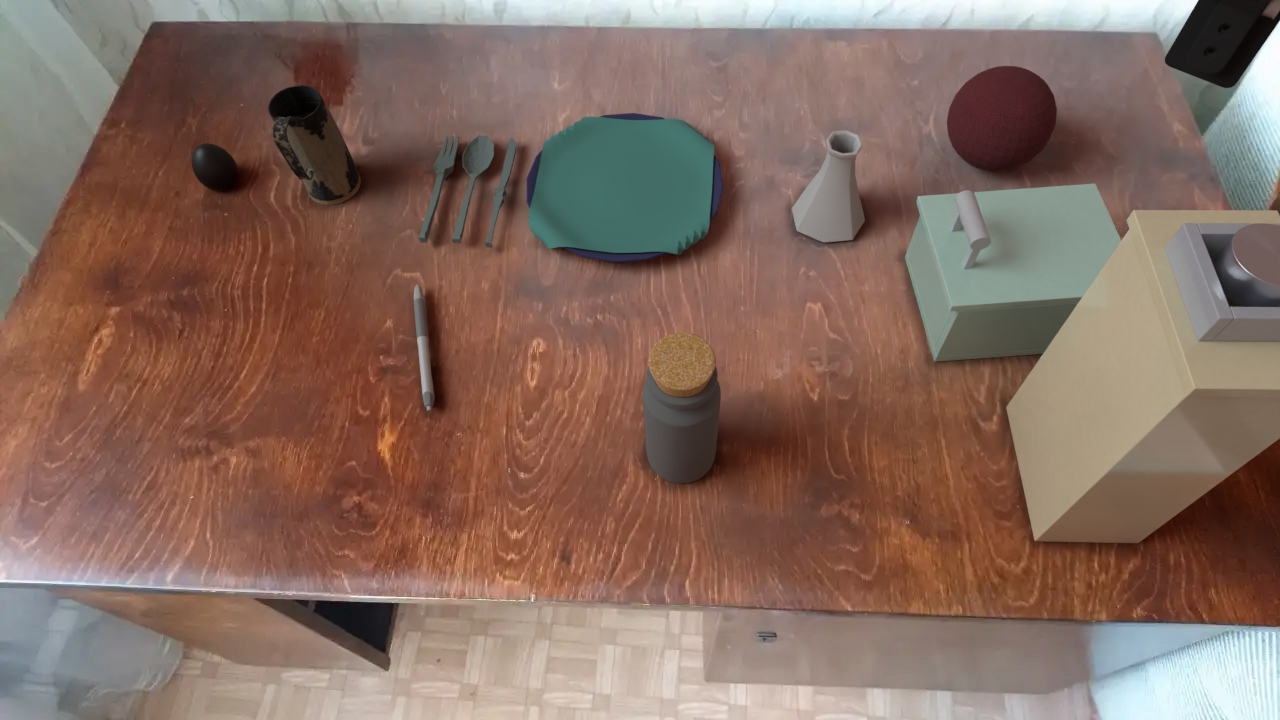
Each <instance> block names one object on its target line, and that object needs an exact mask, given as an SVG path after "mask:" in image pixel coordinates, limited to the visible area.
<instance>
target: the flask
mask: <svg viewBox="0 0 1280 720" xmlns="http://www.w3.org/2000/svg"><path fill="white" fill-rule="evenodd" d="M825 145H826V148H827V151H826V156H825V158H824V161H823V163H822V165H821V167H820V169H819V171H818V172H817V174H816V175H815V176H813V178H812V180H811V181H810V182H809V183H808V185H807V186H806V187H805V189H804V190H803V192H802V193H801V194H800V196H799V197H798V199H797V201H795V203H794V205H793V206H792V207H791V212H792V216H793V220H794V225H795V229H796V232H798V233H801V234H803V235H806V236H808V237H810V238H812V239H814V240H817V241H819V242H821V243H835V242H845V241H853V240H854V239H855V237H856V235H857V234H858V232H859V231H860V230H861V228H862V226H863V224H864V223H865V221H866V218H865V214H864V209H863V205H862V202H861V197H860V193H859V187H858V182H857V178H856V177H857V176H856V161H857V157H858V154H859V153H860V151H861V150H862V148H863V142H862V140H861V136H860V134H857V133H855V132H852V131H850V130H847V129H844V130H833V131H832V132H831V133H830V134H829V136H828V137H827V138H826V140H825Z"/></svg>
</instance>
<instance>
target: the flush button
mask: <svg viewBox="0 0 1280 720" xmlns="http://www.w3.org/2000/svg"><path fill="white" fill-rule="evenodd" d="M1212 263H1213V266H1214V268H1215V271H1216V273H1217V276H1218V279H1219V281H1220V284H1221V286H1222V289H1223V291H1224V294H1225V295H1226V296H1227V297H1228V298H1230V299H1231V300H1233V301H1234V302H1236V303H1238V304H1240V305H1242V306H1245V307H1280V226H1279V225H1274V224H1268V223H1257V224H1251V225H1248V226H1245V227H1243V228H1241V229H1240V230H1239V231H1237V232H1236V234H1235V235H1234V236H1233V237H1232V238H1231V239H1230V241H1229V242H1228V243H1227V244H1226V245H1225V246H1224V248H1223V249H1222V250H1221V251H1220V252H1219V253H1218V255H1217V256H1216V257H1215V258H1214V260H1213V262H1212Z"/></svg>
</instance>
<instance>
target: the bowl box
mask: <svg viewBox="0 0 1280 720" xmlns="http://www.w3.org/2000/svg"><path fill="white" fill-rule="evenodd" d="M904 261H905V264H906V267H907V270H908V274H909V277H910V282H911V284H912V288H913V292H914V295H915V299H916V303H917V306H918V309H919V313H920V316H921V317H920V318H921V320H922V324H923V327H924V331H925V334H926V338H927V341H928V345H929V348H930V352H931V356H932V359H933V362H935V363H936V362H950V361H962V360H963V361H964V360H976V359H977V360H979V359H991V358H1003V357H1004V358H1005V357H1006V358H1007V357H1018V356H1019V357H1020V356H1032V355H1043V353H1044V352H1045V350H1046V349H1047V347H1048V346H1049V344H1050V343H1051V342H1052V340H1053V339H1054V337H1055V336H1056V334H1057V333H1058V331H1059V330H1060V329H1061V327H1062V326H1063V324H1064V323H1065V321H1066V320H1067V318H1068V317H1069V316H1070V314H1071V313H1072V311H1073V310H1074V308H1075V307H1076V305H1077V304H1078V303H1079V302H1075V303H1061V304H1047V305H1033V306H1019V307H1005V308H992V309H978V310H964V311H949V308H948V305H947V302H946V298H945V295H944V292H943V289H942V285H941V282H940V279H939V275H938V272H937V269H936V266H935V262H934V259H933V256H932V252H931V249H930V246H929V243H928V239H927V236H926V233H925V229H924V226H923V223H922V220H921V216H920V215H919V217H918V220H917V223H916V225H915V228H914V231H913V233H912V236H911V238H910V242H909V244H908V246H907V250H906V253H905V255H904Z"/></svg>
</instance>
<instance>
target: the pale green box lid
mask: <svg viewBox="0 0 1280 720" xmlns="http://www.w3.org/2000/svg"><path fill="white" fill-rule="evenodd" d="M916 207H917V210H918V213H919V217H920V216H921V220H922V223H923V226H924V229H925V233H926V236H927V239H928V243H929V246H930V249H931V252H932V256H933V259H934V262H935V266H936V269H937V272H938V275H939V279H940V282H941V285H942V289H943V292H944V295H945V298H946V302H947V305H948V308H949V311H964V310H978V309H992V308H1005V307H1019V306H1033V305H1047V304H1061V303H1075V302H1079V301H1080V300H1081V298H1082V297H1083V295H1084V294H1085V292H1086V291H1087V290H1088V288H1089V287H1090V285H1091V284H1092V282H1093V281H1094V279H1095V278H1096V277H1097V275H1098V274H1099V272H1100V271H1101V269H1102V268H1103V266H1104V265H1105V264H1106V262H1107V261H1108V259H1109V258H1110V256H1111V255H1112V253H1113V252H1114V250H1115V249H1116V248H1117V246H1118V245H1119V243H1120V242H1121V240H1122V238H1121V236H1120V234H1119V231H1118V230H1117V228H1116V225H1115V223H1114V221H1113V219H1112V216H1111V214H1110V212H1109V210H1108V208H1107V205H1106V203H1105V201H1104V199H1103V197H1102V194H1101V192H1100V190H1099V187H1098V186H1097V183H1095V182H1094V183H1082V184H1068V185H1052V186H1040V187H1023V188H1013V189H997V190H984V191H983V190H981V191H974V190H973V191H972V190H970V189H965V190H962V191H959V192H955V193H942V194H929V195H928V194H926V195H918V196H917V199H916Z"/></svg>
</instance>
